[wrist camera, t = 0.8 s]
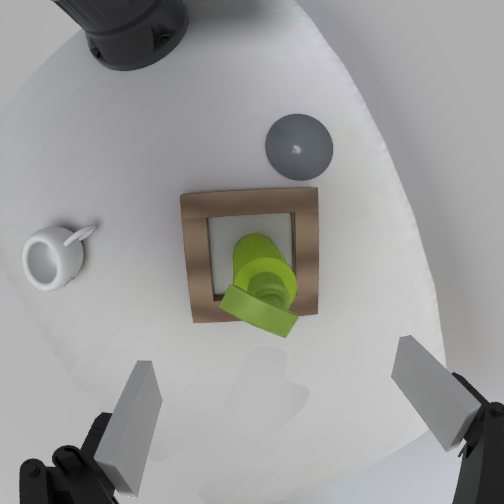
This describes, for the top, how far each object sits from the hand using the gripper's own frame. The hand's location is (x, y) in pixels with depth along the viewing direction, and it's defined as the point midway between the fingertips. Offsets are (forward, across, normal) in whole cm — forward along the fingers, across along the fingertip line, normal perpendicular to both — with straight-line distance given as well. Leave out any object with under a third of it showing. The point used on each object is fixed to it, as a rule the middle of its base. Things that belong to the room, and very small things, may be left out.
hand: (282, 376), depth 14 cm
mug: (+27, -26, +3) cm, 37 cm away
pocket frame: (+26, 0, 0) cm, 26 cm away
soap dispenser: (+27, 0, 0) cm, 27 cm away
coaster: (+26, +7, +14) cm, 31 cm away
